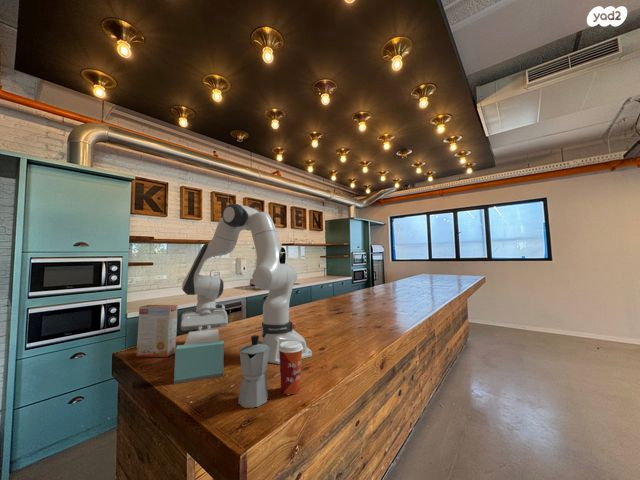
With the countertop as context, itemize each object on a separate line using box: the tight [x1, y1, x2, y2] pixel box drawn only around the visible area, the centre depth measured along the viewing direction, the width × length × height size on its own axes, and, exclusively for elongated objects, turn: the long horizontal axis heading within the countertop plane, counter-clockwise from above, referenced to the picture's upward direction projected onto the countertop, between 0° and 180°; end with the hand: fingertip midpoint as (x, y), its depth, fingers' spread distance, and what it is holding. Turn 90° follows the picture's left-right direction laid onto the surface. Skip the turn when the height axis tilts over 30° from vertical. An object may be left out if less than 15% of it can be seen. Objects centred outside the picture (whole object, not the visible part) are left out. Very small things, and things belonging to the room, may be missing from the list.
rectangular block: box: [173, 339, 225, 385], centre depth 103 cm, size 15×39×11 cm, turn 23°
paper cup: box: [278, 341, 303, 395], centre depth 78 cm, size 8×8×14 cm
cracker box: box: [135, 304, 179, 358], centre depth 108 cm, size 14×6×21 cm, turn 84°
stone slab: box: [183, 328, 220, 345], centre depth 102 cm, size 12×22×4 cm, turn 23°
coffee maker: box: [237, 334, 270, 409], centre depth 73 cm, size 15×9×18 cm, turn 5°
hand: (204, 336), depth 113 cm, fingers closed
